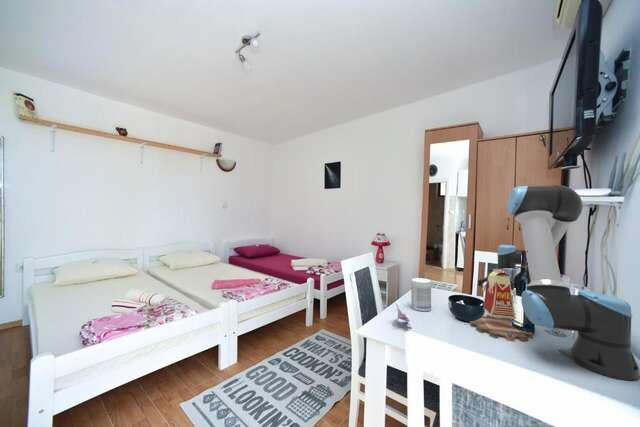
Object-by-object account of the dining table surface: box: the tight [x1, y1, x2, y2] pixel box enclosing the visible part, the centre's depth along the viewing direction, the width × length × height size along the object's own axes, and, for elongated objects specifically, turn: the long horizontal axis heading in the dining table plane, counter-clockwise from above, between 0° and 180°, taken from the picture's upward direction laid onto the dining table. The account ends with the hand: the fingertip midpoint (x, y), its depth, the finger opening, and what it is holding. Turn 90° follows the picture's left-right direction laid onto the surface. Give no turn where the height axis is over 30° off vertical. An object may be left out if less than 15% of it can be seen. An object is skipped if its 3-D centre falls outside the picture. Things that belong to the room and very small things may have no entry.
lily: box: [392, 302, 412, 328], centre depth 112 cm, size 12×12×10 cm
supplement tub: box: [410, 277, 432, 312], centre depth 133 cm, size 10×10×15 cm
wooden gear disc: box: [469, 314, 534, 342], centre depth 110 cm, size 22×22×3 cm
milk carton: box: [483, 268, 517, 320], centre depth 111 cm, size 9×9×20 cm
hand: (498, 290), depth 107 cm, fingers closed on milk carton, 10 cm apart
